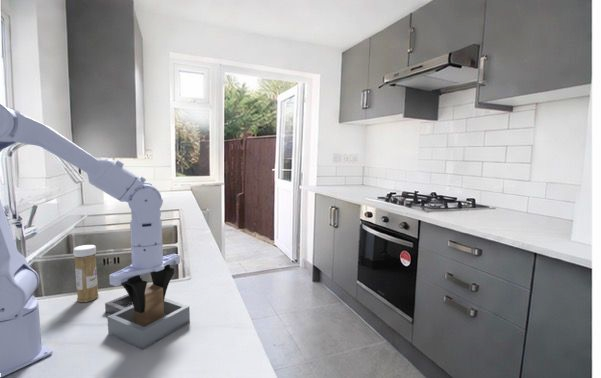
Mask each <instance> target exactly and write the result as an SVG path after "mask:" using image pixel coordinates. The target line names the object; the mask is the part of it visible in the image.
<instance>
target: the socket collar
mask: <svg viewBox="0 0 601 378" xmlns="http://www.w3.org/2000/svg"><path fill="white" fill-rule="evenodd" d="M131 303H132V301H131V298H130V296H129V294H128V293H127V294H125V295H122V296H120V297H117V298H114V299H112V300H110V301H107V302H104V305H105V310H104V311H105V312H106V313H108V314H110V315H112V314H114V313H117V312H119V311H121V310H123V309H126V308H128V307H130V306H132V305H133V304H131ZM129 304H130V305H129ZM127 305H129V306H127ZM125 306H126V307H125Z"/></svg>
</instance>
